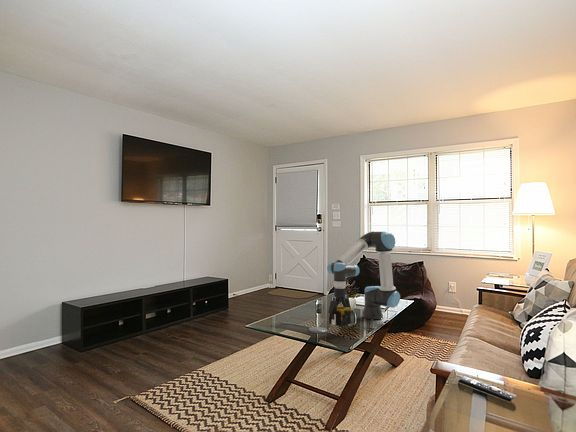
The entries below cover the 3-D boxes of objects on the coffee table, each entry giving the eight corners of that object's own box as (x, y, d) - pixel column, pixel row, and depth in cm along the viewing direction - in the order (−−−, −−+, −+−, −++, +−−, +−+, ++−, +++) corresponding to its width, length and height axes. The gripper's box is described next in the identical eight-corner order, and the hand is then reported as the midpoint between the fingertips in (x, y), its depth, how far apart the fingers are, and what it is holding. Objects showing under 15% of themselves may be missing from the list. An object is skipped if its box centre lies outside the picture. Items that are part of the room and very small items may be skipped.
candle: (328, 323, 214) (328, 307, 214) (338, 320, 221) (338, 305, 221) (341, 327, 206) (341, 310, 206) (351, 323, 213) (351, 307, 213)
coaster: (318, 326, 228) (318, 325, 228) (331, 331, 218) (331, 330, 218) (305, 329, 221) (305, 328, 221) (317, 334, 211) (317, 333, 211)
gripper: (347, 284, 224) (348, 318, 223) (322, 288, 210) (322, 324, 209) (356, 286, 218) (356, 321, 217) (331, 290, 204) (331, 327, 203)
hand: (340, 323), depth 213 cm, fingers closed on candle, 10 cm apart
